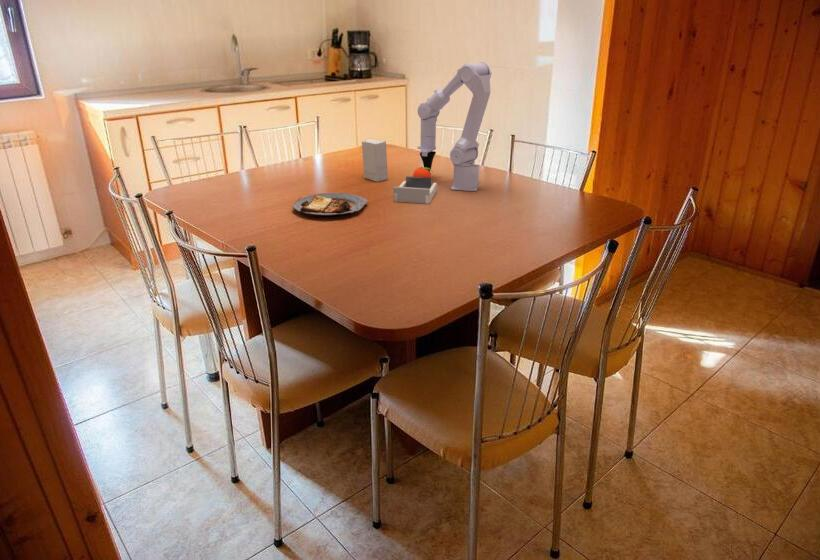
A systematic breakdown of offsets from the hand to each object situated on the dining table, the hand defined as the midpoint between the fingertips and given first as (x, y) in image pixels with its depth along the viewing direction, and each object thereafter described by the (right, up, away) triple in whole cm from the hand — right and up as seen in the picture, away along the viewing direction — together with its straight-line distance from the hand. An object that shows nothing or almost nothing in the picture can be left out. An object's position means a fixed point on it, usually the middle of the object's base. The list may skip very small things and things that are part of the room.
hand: (427, 170), depth 228 cm
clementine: (-2, -7, -6) cm, 9 cm away
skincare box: (-20, -3, +2) cm, 21 cm away
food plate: (-33, -19, -32) cm, 50 cm away
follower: (-4, -10, -14) cm, 18 cm away
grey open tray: (-5, -12, -19) cm, 23 cm away
